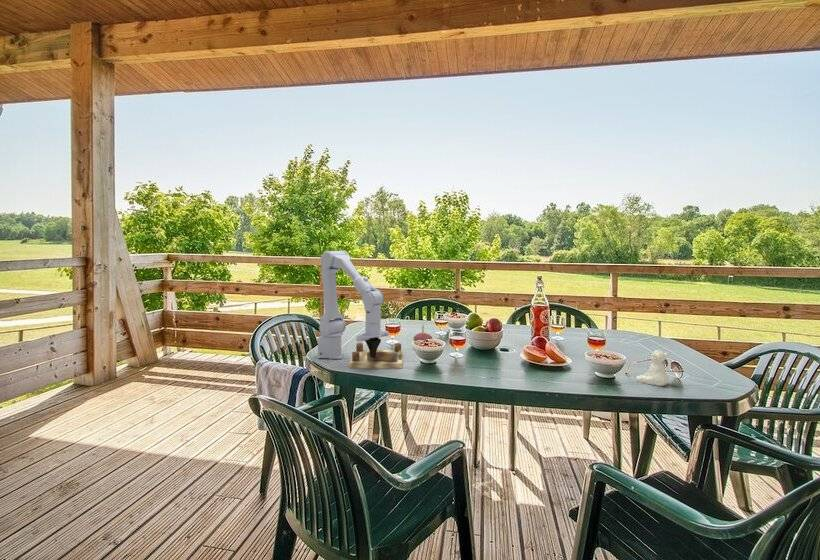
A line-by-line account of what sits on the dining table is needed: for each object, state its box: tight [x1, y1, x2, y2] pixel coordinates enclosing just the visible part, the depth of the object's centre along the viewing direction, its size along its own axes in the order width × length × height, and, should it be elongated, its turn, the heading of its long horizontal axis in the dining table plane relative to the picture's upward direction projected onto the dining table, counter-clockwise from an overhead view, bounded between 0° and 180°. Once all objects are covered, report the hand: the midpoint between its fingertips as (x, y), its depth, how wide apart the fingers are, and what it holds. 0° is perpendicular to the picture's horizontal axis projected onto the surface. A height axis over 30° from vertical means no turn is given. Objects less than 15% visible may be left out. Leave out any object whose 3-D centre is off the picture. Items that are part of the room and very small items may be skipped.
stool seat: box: [348, 342, 404, 370], centre depth 173 cm, size 20×20×5 cm
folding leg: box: [367, 351, 398, 361], centre depth 167 cm, size 12×2×3 cm, turn 83°
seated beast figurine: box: [635, 349, 669, 387], centre depth 149 cm, size 10×9×12 cm
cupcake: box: [412, 324, 433, 342], centre depth 193 cm, size 9×8×12 cm
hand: (372, 357), depth 165 cm, fingers closed, pressing on folding leg
